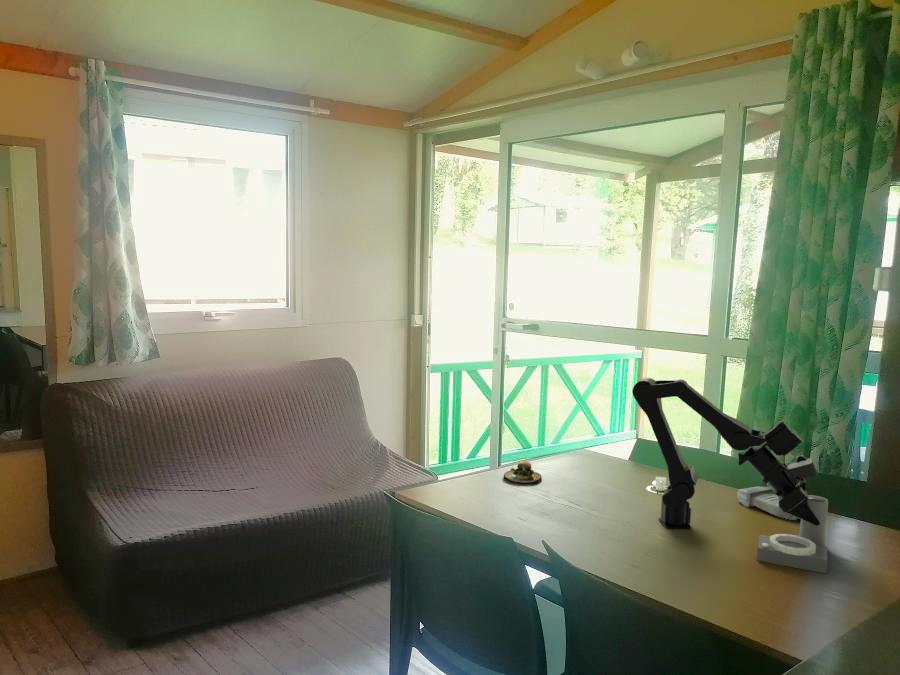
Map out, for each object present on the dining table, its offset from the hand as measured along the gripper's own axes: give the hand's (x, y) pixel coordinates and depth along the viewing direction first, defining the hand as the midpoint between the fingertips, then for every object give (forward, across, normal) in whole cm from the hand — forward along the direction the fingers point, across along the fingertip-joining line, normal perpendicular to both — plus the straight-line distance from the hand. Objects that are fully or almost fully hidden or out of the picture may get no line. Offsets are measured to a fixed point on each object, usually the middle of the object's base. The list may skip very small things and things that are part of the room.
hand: (817, 518), depth 163 cm
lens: (+5, 0, +6) cm, 7 cm away
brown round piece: (-52, +18, +62) cm, 83 cm away
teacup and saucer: (-22, +30, +32) cm, 49 cm away
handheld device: (-1, +24, +12) cm, 27 cm away
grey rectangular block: (+1, -10, +9) cm, 14 cm away
